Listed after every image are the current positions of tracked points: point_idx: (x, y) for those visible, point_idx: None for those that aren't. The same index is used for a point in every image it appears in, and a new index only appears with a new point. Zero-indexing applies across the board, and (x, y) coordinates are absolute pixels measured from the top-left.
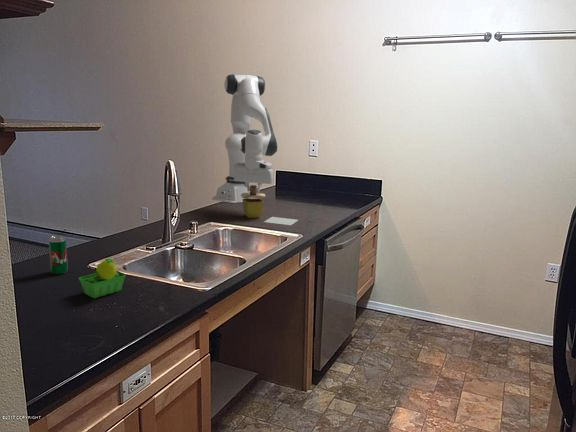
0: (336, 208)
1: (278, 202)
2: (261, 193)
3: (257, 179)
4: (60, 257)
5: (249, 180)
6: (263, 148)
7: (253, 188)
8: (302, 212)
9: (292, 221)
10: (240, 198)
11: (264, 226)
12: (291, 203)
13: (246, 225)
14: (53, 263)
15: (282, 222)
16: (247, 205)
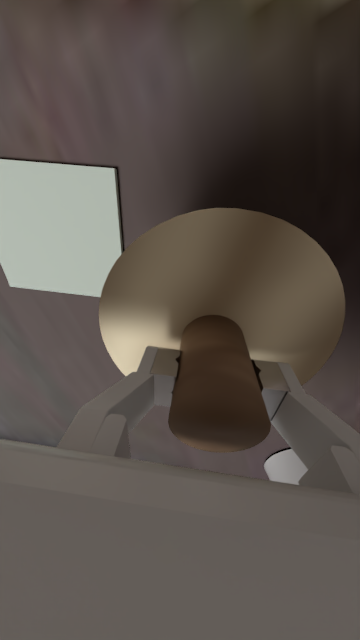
0: (34, 437)
1: (184, 460)
2: None
3: (29, 606)
4: None
5: (343, 559)
6: None
7: (202, 367)
8: (77, 391)
9: (7, 246)
10: (299, 463)
11: (67, 55)
12: (150, 457)
13: (189, 7)
14: None
15: (27, 203)
16: None
